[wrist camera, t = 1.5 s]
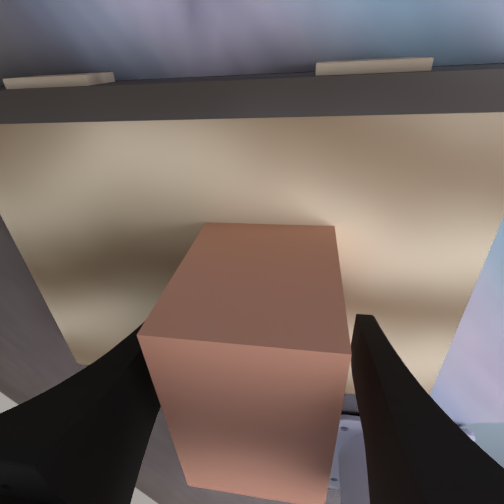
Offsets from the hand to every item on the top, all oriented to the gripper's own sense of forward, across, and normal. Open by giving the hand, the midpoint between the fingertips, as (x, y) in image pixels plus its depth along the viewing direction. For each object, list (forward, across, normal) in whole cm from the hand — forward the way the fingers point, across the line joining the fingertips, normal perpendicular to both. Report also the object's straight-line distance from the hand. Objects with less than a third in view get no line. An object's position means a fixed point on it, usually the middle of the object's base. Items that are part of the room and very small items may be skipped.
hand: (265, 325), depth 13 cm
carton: (+1, 0, 0) cm, 1 cm away
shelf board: (+3, +2, -1) cm, 4 cm away
